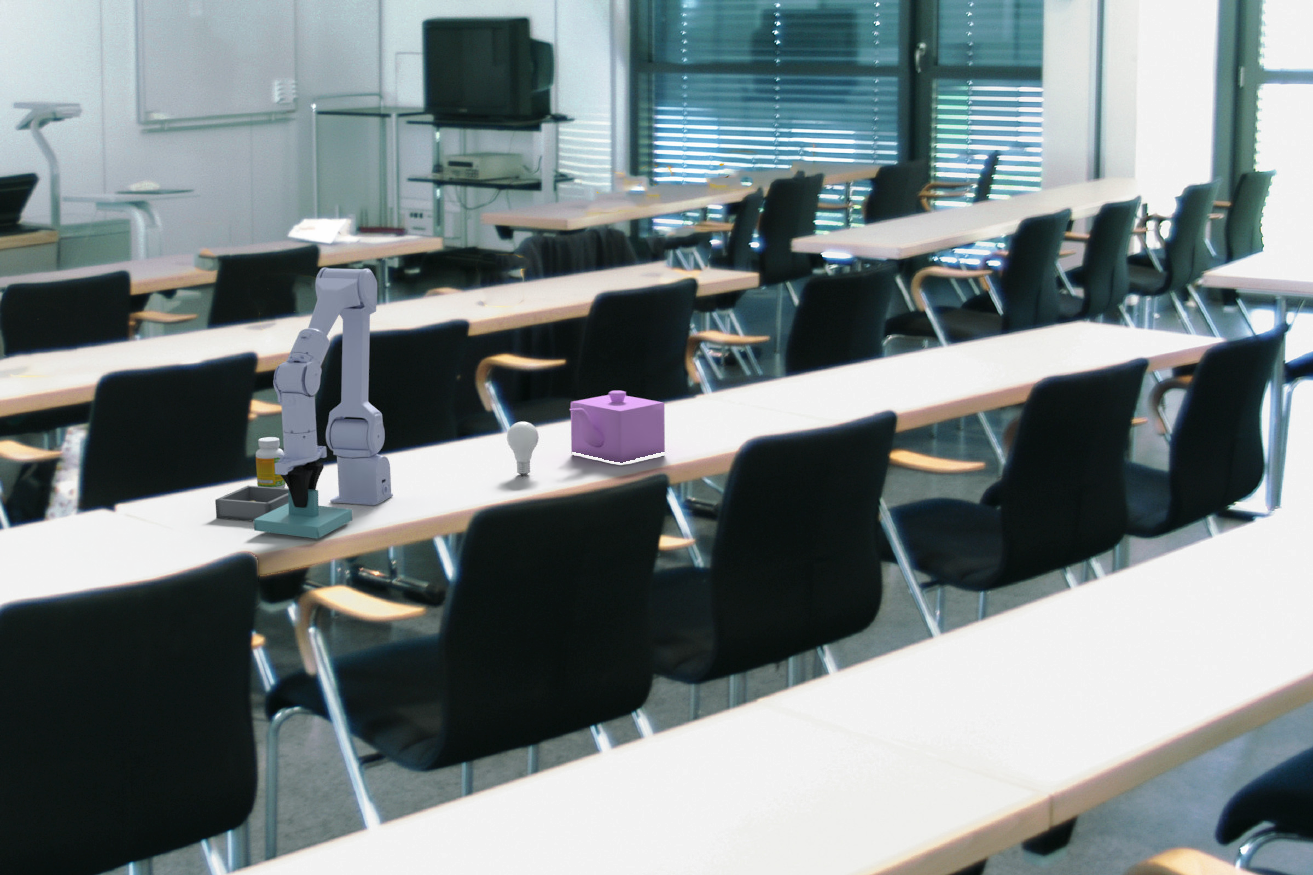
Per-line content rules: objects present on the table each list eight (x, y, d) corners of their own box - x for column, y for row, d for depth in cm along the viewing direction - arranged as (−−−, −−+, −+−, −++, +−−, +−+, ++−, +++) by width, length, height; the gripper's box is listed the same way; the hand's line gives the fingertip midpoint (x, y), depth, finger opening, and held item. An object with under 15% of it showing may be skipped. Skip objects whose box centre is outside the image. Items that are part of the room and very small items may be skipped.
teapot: (546, 461, 329) (545, 395, 326) (630, 442, 346) (630, 380, 343) (596, 472, 318) (595, 405, 315) (680, 452, 336) (680, 388, 333)
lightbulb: (502, 477, 315) (500, 423, 312) (516, 470, 320) (515, 417, 318) (530, 479, 312) (529, 426, 310) (544, 472, 318) (543, 419, 316)
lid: (352, 520, 281) (351, 485, 279) (317, 538, 269) (317, 502, 268) (290, 512, 284) (289, 478, 283) (254, 530, 273) (253, 494, 271)
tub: (300, 507, 292) (299, 489, 291) (269, 522, 282) (268, 503, 281) (248, 503, 295) (247, 485, 294) (216, 518, 285) (215, 499, 284)
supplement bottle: (278, 491, 304) (275, 442, 302) (252, 490, 305) (249, 441, 303) (290, 484, 309) (287, 436, 307) (264, 483, 311) (262, 435, 308)
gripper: (300, 420, 281) (304, 494, 284) (257, 437, 267) (262, 514, 270) (335, 423, 279) (339, 496, 282) (294, 439, 265) (298, 517, 268)
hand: (303, 505), depth 276 cm, fingers closed on lid
